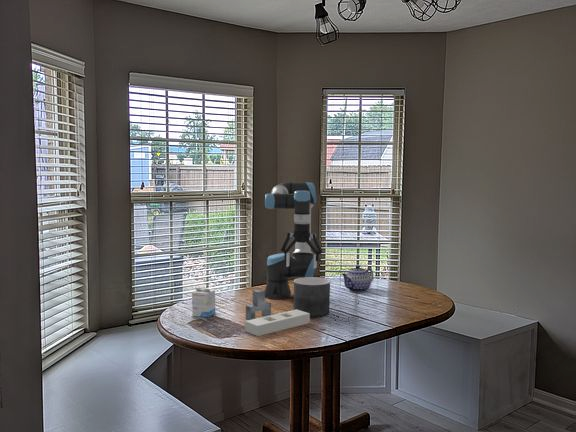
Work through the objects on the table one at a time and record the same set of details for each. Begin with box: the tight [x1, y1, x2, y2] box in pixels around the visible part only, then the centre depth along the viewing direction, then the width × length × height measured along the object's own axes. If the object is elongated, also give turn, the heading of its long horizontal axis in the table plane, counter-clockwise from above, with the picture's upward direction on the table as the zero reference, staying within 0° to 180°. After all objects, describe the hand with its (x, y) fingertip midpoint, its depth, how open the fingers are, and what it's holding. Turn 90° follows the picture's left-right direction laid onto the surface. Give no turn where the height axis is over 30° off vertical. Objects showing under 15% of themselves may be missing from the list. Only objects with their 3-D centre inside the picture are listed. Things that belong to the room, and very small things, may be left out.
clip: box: [245, 288, 272, 321], centre depth 247 cm, size 12×4×13 cm, turn 131°
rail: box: [244, 309, 311, 337], centre depth 233 cm, size 30×9×4 cm, turn 131°
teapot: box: [341, 264, 374, 293], centre depth 304 cm, size 25×15×15 cm, turn 125°
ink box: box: [191, 287, 216, 318], centre depth 251 cm, size 9×8×13 cm
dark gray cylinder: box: [293, 276, 331, 318], centre depth 257 cm, size 18×18×16 cm
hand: (301, 267), depth 251 cm, fingers open, 13 cm apart
